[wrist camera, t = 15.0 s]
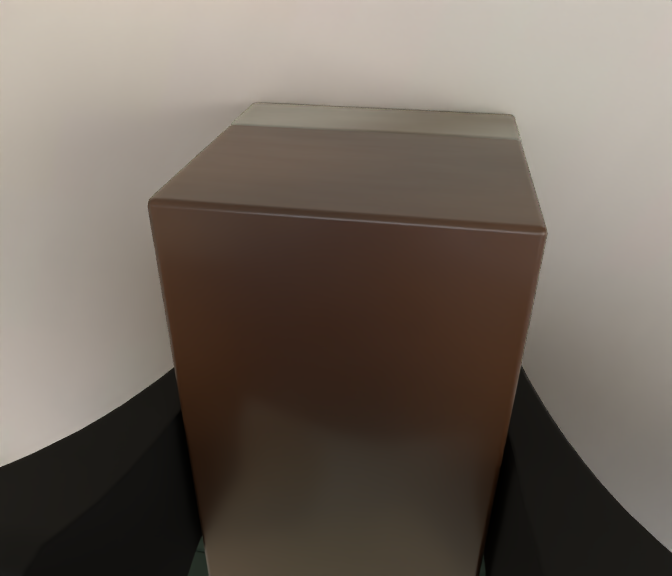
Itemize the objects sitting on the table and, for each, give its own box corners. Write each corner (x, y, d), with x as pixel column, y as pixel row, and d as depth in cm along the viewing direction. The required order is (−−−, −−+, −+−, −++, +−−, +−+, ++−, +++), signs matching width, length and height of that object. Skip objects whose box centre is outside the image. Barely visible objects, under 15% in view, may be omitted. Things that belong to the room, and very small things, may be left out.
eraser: (514, 114, 11) (550, 229, 7) (453, 512, 17) (453, 709, 13) (252, 101, 12) (143, 199, 8) (277, 488, 18) (222, 667, 13)
